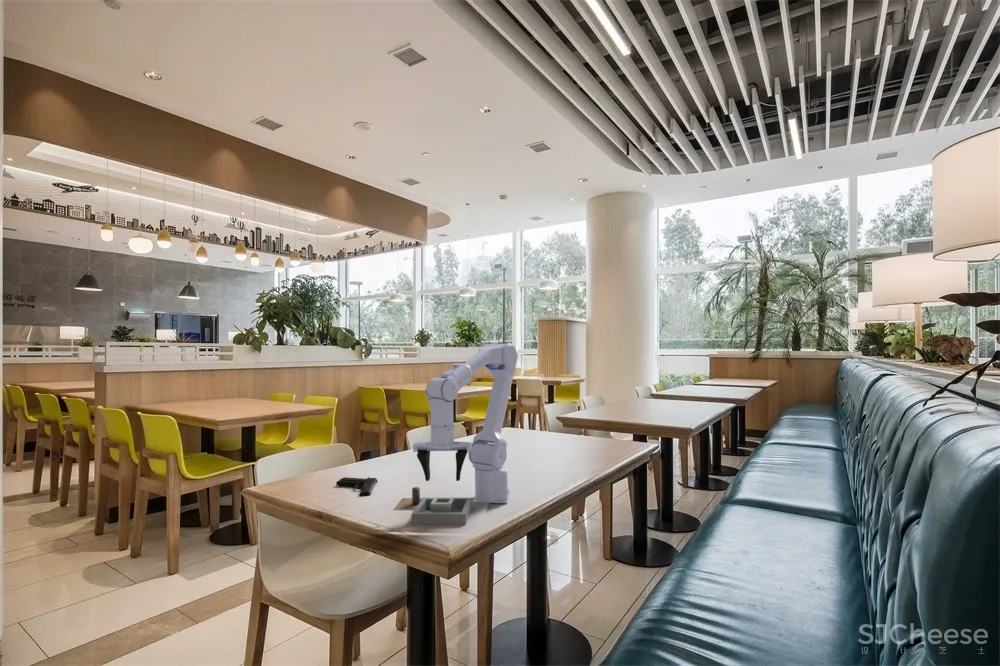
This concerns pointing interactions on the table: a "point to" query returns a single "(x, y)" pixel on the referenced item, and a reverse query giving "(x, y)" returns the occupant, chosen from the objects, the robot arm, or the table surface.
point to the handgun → (359, 484)
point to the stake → (410, 501)
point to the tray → (442, 513)
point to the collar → (443, 504)
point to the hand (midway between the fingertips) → (443, 479)
